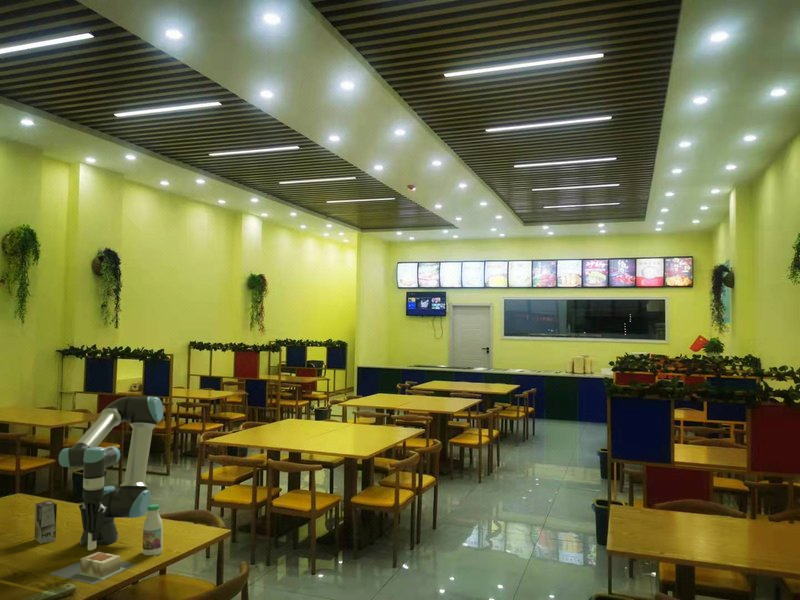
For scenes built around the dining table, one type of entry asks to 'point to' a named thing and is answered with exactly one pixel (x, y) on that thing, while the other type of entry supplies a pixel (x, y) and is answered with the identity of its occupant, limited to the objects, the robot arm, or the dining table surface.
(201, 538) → the dining table surface
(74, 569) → the topple mat
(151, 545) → the milk bottle
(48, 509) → the coffee box
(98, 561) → the maple block
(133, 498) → the robot arm
